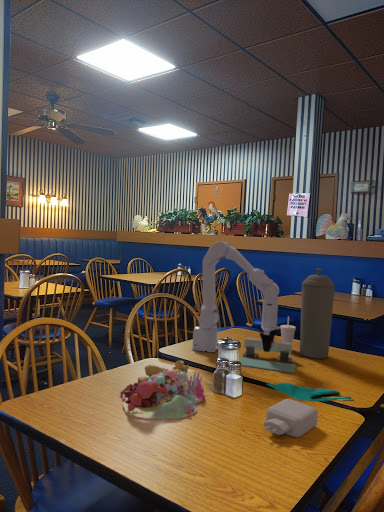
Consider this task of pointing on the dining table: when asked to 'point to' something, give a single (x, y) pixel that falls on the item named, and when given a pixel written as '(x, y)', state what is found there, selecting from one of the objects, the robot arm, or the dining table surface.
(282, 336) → the smoothie
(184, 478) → the dining table surface
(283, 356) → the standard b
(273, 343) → the rail
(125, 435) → the dining table surface
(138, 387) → the coral reef model
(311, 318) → the canister
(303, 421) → the charger
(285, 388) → the cloth
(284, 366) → the mat
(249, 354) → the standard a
